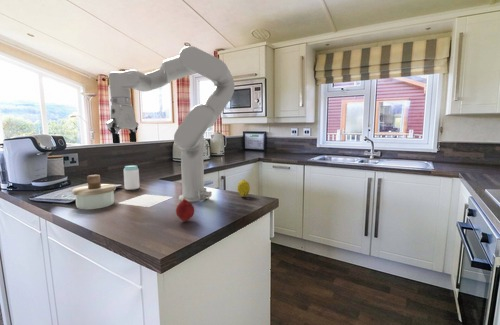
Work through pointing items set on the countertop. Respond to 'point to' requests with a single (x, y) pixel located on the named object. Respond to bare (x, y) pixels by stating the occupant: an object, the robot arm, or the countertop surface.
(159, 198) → the mat
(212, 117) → the robot arm
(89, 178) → the lid
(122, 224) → the countertop surface
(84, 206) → the bowl
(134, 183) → the can
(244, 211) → the countertop surface
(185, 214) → the onion
